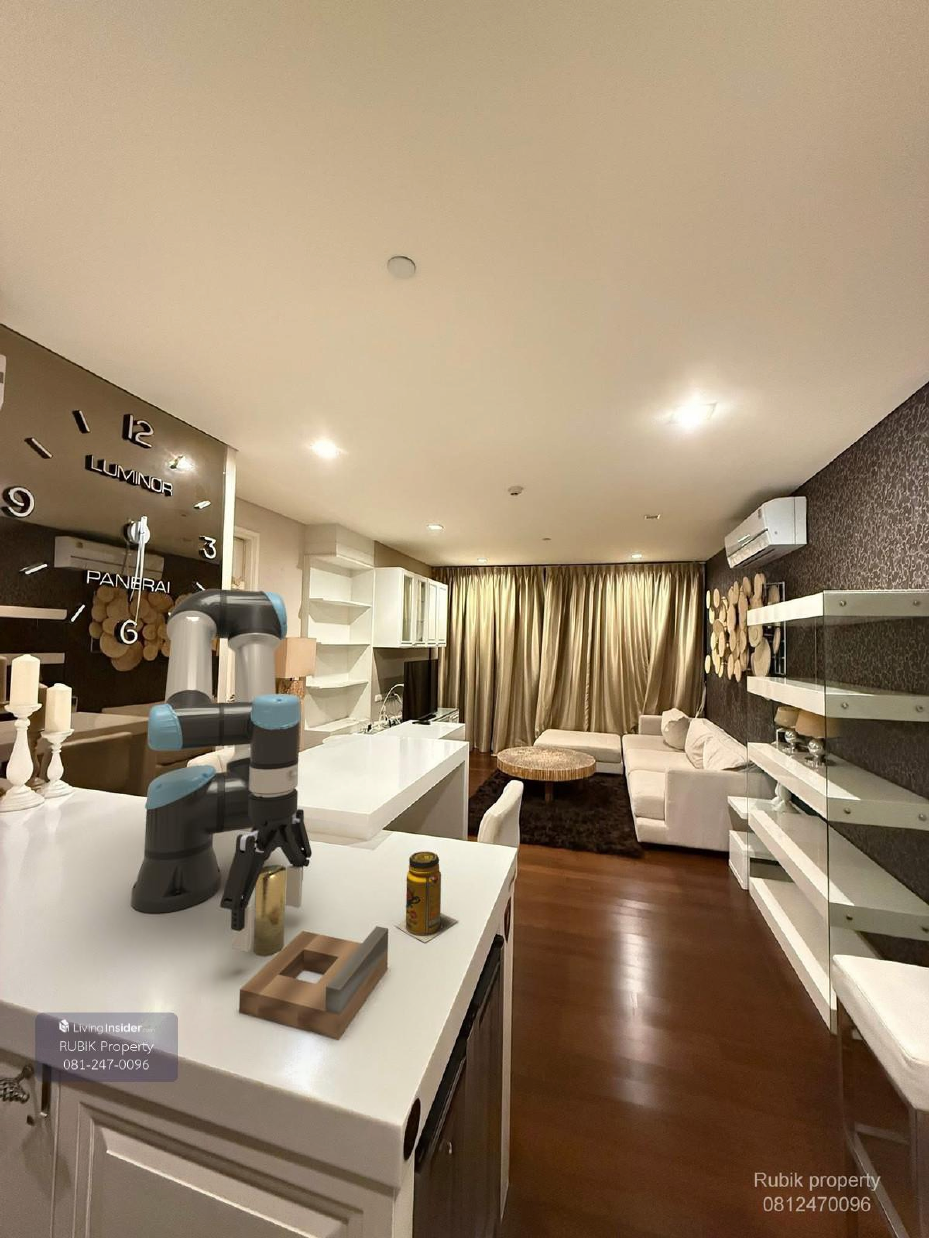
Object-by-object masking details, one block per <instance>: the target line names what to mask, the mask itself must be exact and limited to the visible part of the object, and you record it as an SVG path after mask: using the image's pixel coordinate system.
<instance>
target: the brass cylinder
mask: <svg viewBox="0 0 929 1238" xmlns="http://www.w3.org/2000/svg"><path fill="white" fill-rule="evenodd" d="M286 873H287V867H285V866H284V865H280V864H272V865H267V866H263V868H262V870H261V873H260V875H259V878H258V880H257V883H256V885H255V888H254V889H255V891H254V892H255V893H254V917H253V918H254V919H253V921H254V922H253V944H252V945H253V947H252V950H253V954H254V955H256V956H258V957H269V956H273V955H275V954H278V953H279V952H280V951H281V950H282V949H283V948H284V947H285V946H284V945H285V918H286V914H285V913H286Z"/></svg>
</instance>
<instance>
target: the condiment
mask: <svg viewBox="0 0 929 1238" xmlns="http://www.w3.org/2000/svg"><path fill="white" fill-rule="evenodd" d="M408 862H409V863H408V864H409V865H408V871H407V874H406V880H405V881H406V897H405V898H406V899H405V900H406V903H405V908H406V909H405V921H403V922H400V923H399V924H397V925H395V927H396V928H398V929H399V930H401V931H402V932H404V933H406V934H408V935H410V936H412V937H413V938H415V939H417V940H420V941H422V942H423V943H427V942H429V941H430V940H432V939H433V938H435V937H436V936H438V935H440V934H441V933H442V932H444V931H445V930H446V929H448V928H450V927H452V926H453V925H454V924H455V923H457V922H459V920H458V919H456V918H452V917H451V916H448V915H446V914H444V913H441V912H442V910H441V906H442V905H441V904H442V903H441V902H442V899H441V897H442V874H441V873H442V872H441V871H440V857H439V856H438V854H437V853H434V852H432V851H417V852H415V853H412V854H411V855H410V856H409V860H408Z"/></svg>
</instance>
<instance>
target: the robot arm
mask: <svg viewBox="0 0 929 1238" xmlns="http://www.w3.org/2000/svg"><path fill="white" fill-rule="evenodd" d="M169 614H170V615H168V619H167V622H166V636H167V637H168V639H169V641H170V645H169V646H170V647H169V655H168V656H169V657H168V658H169V659H168V668H167V677H166V688H165V689H166V690H165V699H164V704H163V703H162V704H158V705H154V706H152V707H151V708H150V711H149V714H148V723H147V724H148V725H147V744H148V747H149V749H151V750H152V751H176V752H177V751H181V750H183V751H184V750H193V749H204V748H211V747H212V748H216V747H221V746H222V747H229V746H234V754H233V756H232V757H231V758H230V759H229V760H228V761H227V762H226V765H225V766H226V771H224V772H223V771H222V772H217V770H216V767H215V766H213V765H210V764H204V765H201V764H200V765H199V764H198V765H192V766H186V767H182V768H179V769H175V770H171V771H168V772H166V773H162V774H161V775H159V776H157V777H156V778H154V779H152V781H151V782H150V783H149V785H148V788H147V793H146V795H147V796H146V802H145V804H144V808H145V809H146V814H145V816H146V817H145V829H144V831H145V833H144V834H145V835H144V849H143V850H144V851H143V852H144V853H143V856H144V857H143V861H142V863H141V864H140V865H141V866H140V868H139V871H138V874H137V878H136V880H135V881H134V884H133V886H132V888H131V897H130V898H131V899H130V904H131V906H132V908H134V909H135V910H137V911H140V912H143V913H152V914H153V913H155V914H156V913H157V914H159V913H169V912H175V911H179V910H184V909H187V908H190V907H193V906H195V905H199V904H200V903H202V902H205V901H206V900H209V898H212V897H213V896H214V895H215V894H216V893H217V892H218V891H219V890H220V888H221V884H222V871H221V868H220V867H219V865H218V861H217V860H218V859H217V856H216V854H215V850H214V847H213V846H214V845H213V844H214V843H213V842H214V841H213V839H214V835H215V834H220V833H221V834H222V833H227V832H234V831H241V830H248V829H251V831H250V833H248V834H238V835H237V836H236V841H235V851H234V855H233V858H232V862H231V865H230V869H229V872H228V876H227V878H226V882H225V886H224V889H223V892H222V897H221V900H220V903H219V906H220V908H222V909H226V910H230V911H231V915H230V922H231V923H230V928H231V930H232V936H231V937H232V941H231V948H232V949H234V950H237V951H241V952H246V953H248V952H249V951H250V950H251V948H252V947H251V946H252V922H253V921H252V918H253V916H252V915H253V904H251V903H250V899H251V897H252V895H253V893H254V889H255V885H256V883H257V880H258V878H259V875H260V873H261V870H262V868H263V867H264V865H265V862H266V861H268V860H269V859H270V857H271V855H272V853H273V852H274V851H276V849H277V848H280V850H281V851H282V853H283V855H284V856H285V857H286V859H287V860H288V861H289V862H288V863H290V865H288V866H286V891H285V907H291V908H297V909H299V908H301V907H302V905H303V903H302V902H303V901H302V900H303V897H302V895H303V881H304V880H303V879H304V867H306V868H307V867H309V865H310V858H311V857H312V853H313V852H312V847H311V845H310V841H309V836H308V832H307V829H306V824H305V812H304V809H300V808H298V802H299V801H298V797H299V796H298V795H299V791H298V790H297V789H296V788H297V787H298V785H299V783H298V781H299V756H300V755H299V754H300V753H299V751H300V730H301V729H300V726H301V719H302V713H301V700H300V698H299V697H298V696H297V695H295V694H288V693H287V694H286V693H276V674H275V673H276V671H275V670H276V669H275V668H276V665H275V650H277V649H278V648H279V647H280V646H281V644H282V643H281V641H282V640H284V639H286V637H287V633H288V615H287V614H288V613H287V608H286V604H285V602H284V599H283V598H282V596H281V595H280V594H278V593H276V592H269V591H268V592H267V591H264V590H259V591H255V590H254V591H251V590H235V589H221V588H208V589H203V590H200V591H197V592H195V593H193V594H190V595H189V596H187V597H185V598H184V599H183V600H182V601H180V602H179V603H178V604H177V605H176V606H175V607H174V608H173V610H172V611H171V612H170V613H169ZM214 639H226V640H227V647H228V648H229V649H230V650H231V651H232V652H234V701H232V702H230V701H228V702H213V671H212V670H213V667H212V666H213V665H212V664H213V663H212V662H213V660H212V659H213V658H212V656H213V655H212V654H213V652H212V651H213V650H212V648H213V647H212V644H213V643H212V642H213V640H214ZM257 850H258V851H257Z"/></svg>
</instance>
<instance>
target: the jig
mask: <svg viewBox="0 0 929 1238" xmlns="http://www.w3.org/2000/svg"><path fill="white" fill-rule="evenodd" d="M388 954H389V928H387V927H383V926H378V925H376V926H375V927H374V929H373V930H372V931H370V933H369V934H368V936H367V937H366V938H365V939H364V941H363V942H359V941H358V942H357V941H352V940H348V939H344V938H343V939H342V938H339V937H335V936H327V935H325V934H320V933H315V932H309V931H305V930H301V932H300V933H298V934H297V935H296V936H295V937H294V938H293V939H291V941H289V942H288V944H286V946H284V947H283V948H282V949H281V950H280V951H279V952H277V953H276V955H275V956H274V957H272V959H271V960H269V961H268V962H267V963H266V964H265V965H264V966H263V967H262V968H261V969H260V970H259V971H257V973H256V974H254V975H253V976H252V977H251V978H250V979H249V980H248V981H247V982H245V984H243V986H241V987H240V988H239V1003H238V1006H239V1007H238V1012H239V1014H240V1013H241V1014H244V1015H248V1016H251V1017H255V1018H259V1019H262V1020H267V1021H270V1022H273V1023H277V1024H280V1025H283V1026H284V1025H285V1026H287V1027H290V1028H291V1027H292V1028H294V1029H299V1030H302V1031H305V1032H308V1033H313V1034H316V1035H320V1036H324V1037H327V1038H330V1039H334V1040H340V1039H341V1037H342V1035H343V1034H344V1033H345V1032H346V1030H347V1029H348V1027H349V1026H350V1025H351V1023H352V1021H353V1020H354V1018H355V1017H356V1016H357V1014H358V1013H359V1011H360V1010H361V1008H362V1007H363V1006H364V1004H365V1003H366V1001H367V999H369V997H370V995H371V993H372V992H373V991H374V989H375V988H376V986H377V985H378V983H379V982H380V980H381V979H382V977H383V976H384V975H385V973H386V972H387V971H388V964H389V963H388V959H389V958H388ZM303 971H308V972H312V973H317V974H320V975H322V976H321V977H320V978H319V979H318V981H317V982H315V983H314V982H310V981H306V980H302V979H298V978H297V976H299V975H300V974H301V973H302V972H303Z"/></svg>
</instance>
